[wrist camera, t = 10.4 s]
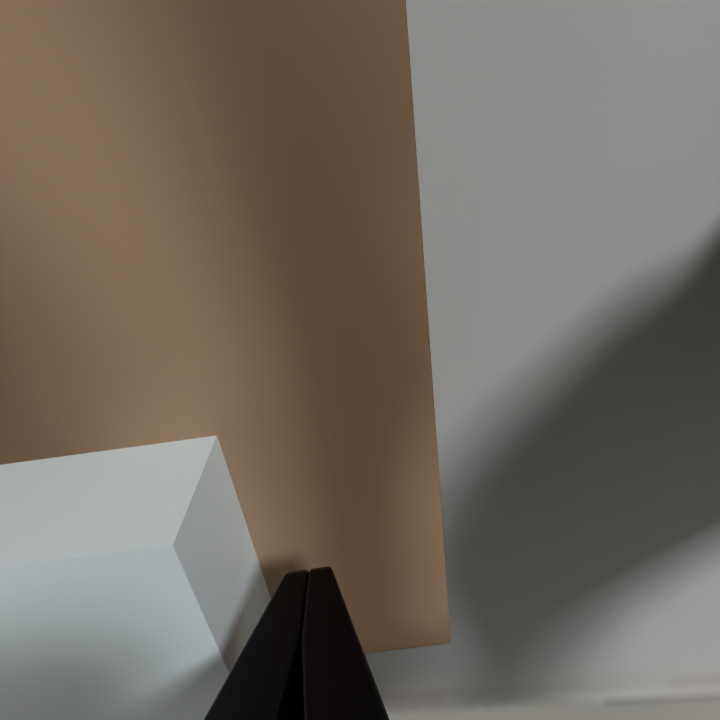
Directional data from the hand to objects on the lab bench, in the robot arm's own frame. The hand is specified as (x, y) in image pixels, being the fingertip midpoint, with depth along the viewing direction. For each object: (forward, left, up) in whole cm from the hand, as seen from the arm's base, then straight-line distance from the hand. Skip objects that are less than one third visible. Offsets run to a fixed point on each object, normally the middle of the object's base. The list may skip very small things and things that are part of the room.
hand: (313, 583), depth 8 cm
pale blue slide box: (+4, +4, -1) cm, 6 cm away
